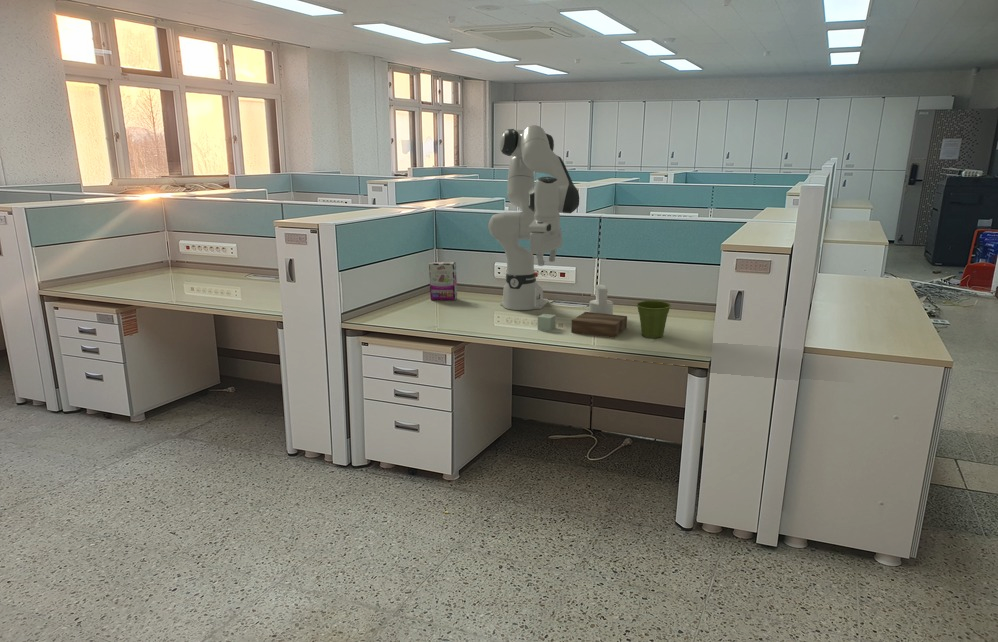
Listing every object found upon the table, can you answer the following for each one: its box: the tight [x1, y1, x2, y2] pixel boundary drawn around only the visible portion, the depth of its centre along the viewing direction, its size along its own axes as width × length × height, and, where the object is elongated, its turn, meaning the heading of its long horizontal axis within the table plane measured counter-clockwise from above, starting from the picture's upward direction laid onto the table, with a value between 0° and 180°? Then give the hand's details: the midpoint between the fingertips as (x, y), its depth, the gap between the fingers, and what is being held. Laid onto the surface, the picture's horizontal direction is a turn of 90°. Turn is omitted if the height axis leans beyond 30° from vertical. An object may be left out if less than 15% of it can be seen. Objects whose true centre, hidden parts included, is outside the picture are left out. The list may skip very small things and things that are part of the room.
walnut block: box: [570, 311, 628, 339], centre depth 241 cm, size 14×16×5 cm
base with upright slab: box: [588, 284, 614, 315], centre depth 259 cm, size 9×9×12 cm
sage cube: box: [537, 313, 557, 332], centre depth 243 cm, size 5×5×5 cm
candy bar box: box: [428, 261, 458, 302], centre depth 293 cm, size 11×5×16 cm, turn 81°
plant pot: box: [635, 300, 672, 339], centre depth 232 cm, size 12×12×11 cm
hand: (546, 263), depth 238 cm, fingers open, 8 cm apart
